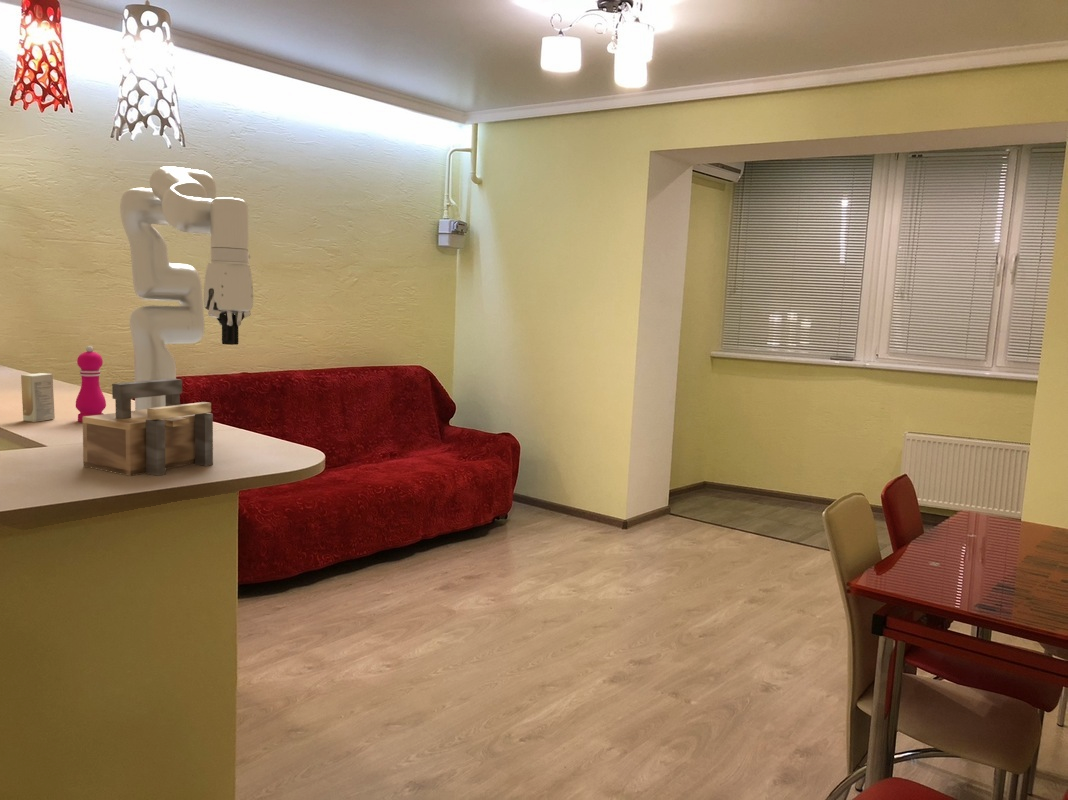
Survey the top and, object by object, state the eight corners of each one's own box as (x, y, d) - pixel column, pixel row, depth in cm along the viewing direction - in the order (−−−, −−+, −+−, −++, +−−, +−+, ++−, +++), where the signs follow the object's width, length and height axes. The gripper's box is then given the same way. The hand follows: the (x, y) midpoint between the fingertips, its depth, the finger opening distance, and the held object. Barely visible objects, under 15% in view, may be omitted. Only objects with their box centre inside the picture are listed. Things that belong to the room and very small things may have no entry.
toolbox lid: (165, 412, 190) (165, 375, 189) (219, 420, 182) (219, 382, 181) (82, 422, 172) (81, 382, 171) (138, 431, 165) (137, 389, 164)
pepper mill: (112, 419, 231) (110, 345, 229) (95, 423, 224) (94, 347, 221) (86, 418, 232) (85, 344, 229) (69, 421, 225) (68, 345, 222)
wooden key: (204, 411, 180) (204, 401, 180) (211, 412, 179) (211, 402, 179) (147, 418, 168) (147, 408, 167) (154, 419, 167) (154, 409, 166)
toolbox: (166, 452, 191) (165, 404, 190) (223, 462, 183) (223, 412, 182) (83, 466, 173) (82, 413, 172) (143, 478, 165) (143, 423, 164)
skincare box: (43, 417, 229) (42, 372, 227) (55, 419, 227) (54, 373, 226) (21, 420, 223) (20, 374, 222) (33, 422, 221) (31, 375, 220)
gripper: (243, 259, 189) (243, 342, 191) (188, 255, 176) (189, 344, 178) (268, 260, 186) (268, 344, 188) (214, 255, 173) (215, 346, 175)
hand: (230, 344), depth 183 cm, fingers closed
